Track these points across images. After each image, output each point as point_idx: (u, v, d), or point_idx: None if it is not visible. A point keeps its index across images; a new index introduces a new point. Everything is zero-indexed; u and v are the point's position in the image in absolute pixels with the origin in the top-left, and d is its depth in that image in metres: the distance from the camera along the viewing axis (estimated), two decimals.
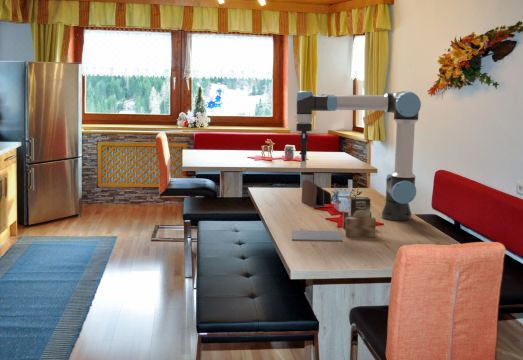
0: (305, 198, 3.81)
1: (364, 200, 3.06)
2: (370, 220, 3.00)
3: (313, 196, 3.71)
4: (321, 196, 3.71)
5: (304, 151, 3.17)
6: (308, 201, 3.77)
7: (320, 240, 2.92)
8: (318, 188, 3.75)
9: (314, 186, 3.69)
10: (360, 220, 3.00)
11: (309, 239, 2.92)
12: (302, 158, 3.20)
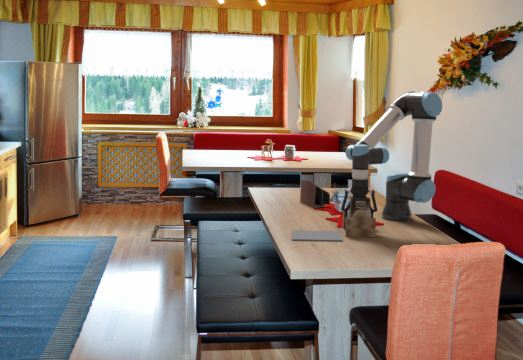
0: (304, 198, 3.81)
1: (364, 200, 3.06)
2: (370, 220, 3.00)
3: (312, 196, 3.71)
4: (320, 196, 3.71)
5: (341, 208, 3.10)
6: (307, 201, 3.77)
7: (320, 240, 2.92)
8: (317, 188, 3.75)
9: (313, 186, 3.69)
10: (360, 220, 3.00)
11: (309, 239, 2.92)
12: None
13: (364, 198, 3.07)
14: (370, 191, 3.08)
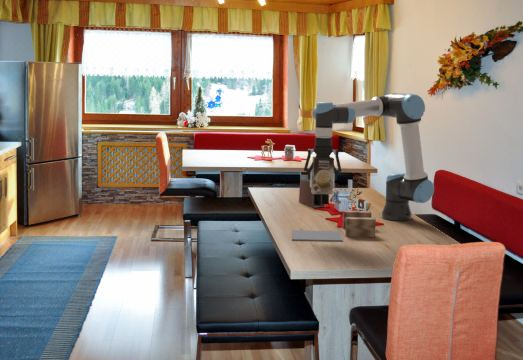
0: (303, 198, 3.81)
1: (327, 159, 2.94)
2: (370, 220, 3.00)
3: (311, 196, 3.71)
4: (319, 196, 3.71)
5: (304, 168, 2.98)
6: (306, 201, 3.77)
7: (320, 240, 2.92)
8: None
9: None
10: (360, 220, 3.00)
11: (309, 239, 2.92)
12: None
13: None
14: (334, 151, 2.96)
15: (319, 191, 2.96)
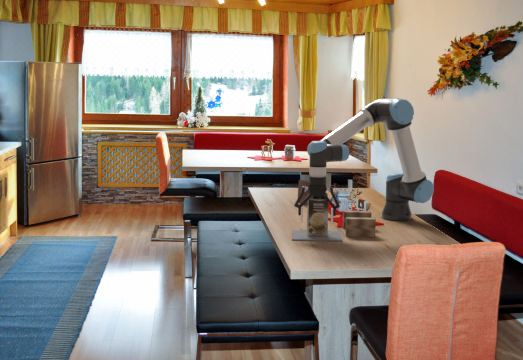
0: (301, 198, 3.81)
1: (322, 202, 2.96)
2: (370, 220, 3.00)
3: None
4: None
5: (294, 204, 2.99)
6: None
7: (320, 240, 2.92)
8: None
9: None
10: (360, 220, 3.00)
11: (309, 239, 2.92)
12: (298, 211, 3.00)
13: (323, 196, 2.97)
14: (328, 188, 2.97)
15: (314, 233, 2.98)
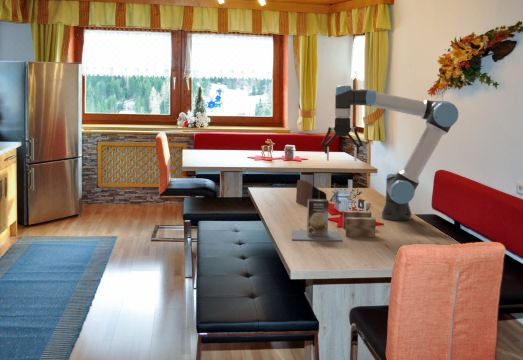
0: (300, 198, 3.81)
1: (322, 202, 2.96)
2: (370, 220, 3.00)
3: (308, 196, 3.71)
4: (316, 196, 3.71)
5: (321, 143, 3.28)
6: (303, 201, 3.77)
7: (320, 240, 2.92)
8: (313, 188, 3.75)
9: (310, 186, 3.69)
10: (360, 220, 3.00)
11: (309, 239, 2.92)
12: None
13: (348, 135, 3.25)
14: (352, 129, 3.26)
15: (314, 233, 2.98)
